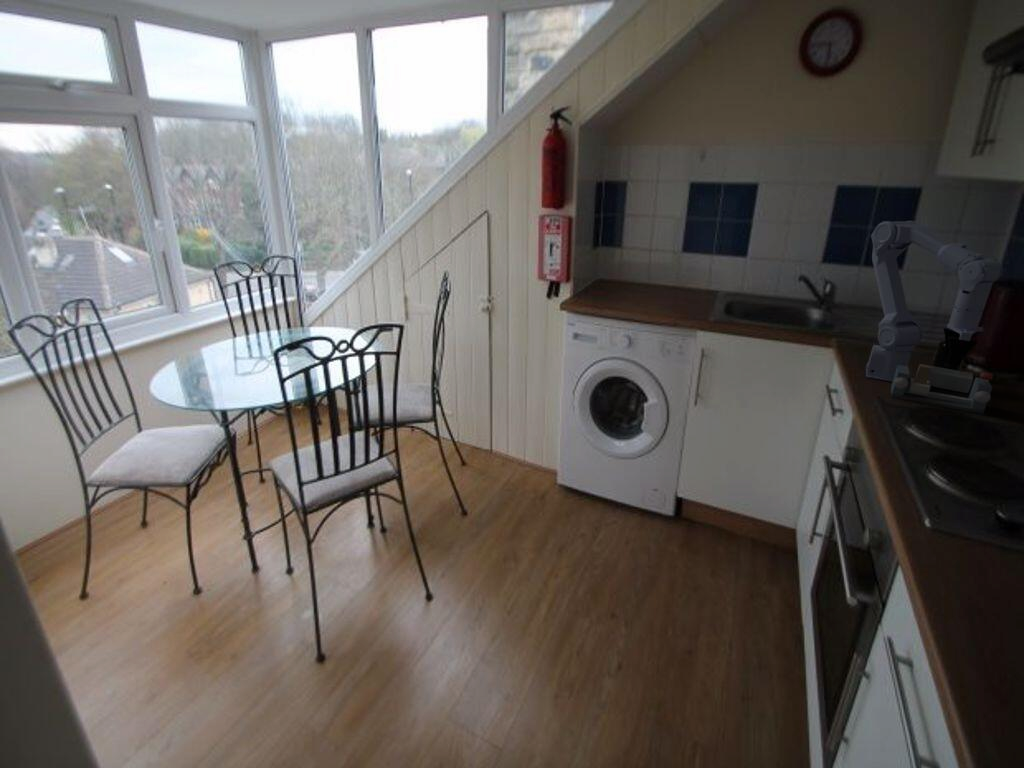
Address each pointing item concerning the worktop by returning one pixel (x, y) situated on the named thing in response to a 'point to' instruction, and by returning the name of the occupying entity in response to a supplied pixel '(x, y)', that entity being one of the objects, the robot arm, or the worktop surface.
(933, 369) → the skincare box
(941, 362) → the supplement bottle
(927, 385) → the carriage
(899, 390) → the rail stand
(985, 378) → the plunger
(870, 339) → the worktop surface
